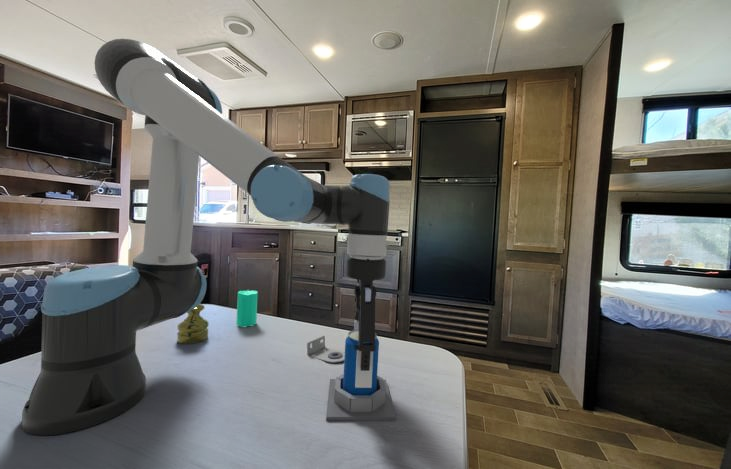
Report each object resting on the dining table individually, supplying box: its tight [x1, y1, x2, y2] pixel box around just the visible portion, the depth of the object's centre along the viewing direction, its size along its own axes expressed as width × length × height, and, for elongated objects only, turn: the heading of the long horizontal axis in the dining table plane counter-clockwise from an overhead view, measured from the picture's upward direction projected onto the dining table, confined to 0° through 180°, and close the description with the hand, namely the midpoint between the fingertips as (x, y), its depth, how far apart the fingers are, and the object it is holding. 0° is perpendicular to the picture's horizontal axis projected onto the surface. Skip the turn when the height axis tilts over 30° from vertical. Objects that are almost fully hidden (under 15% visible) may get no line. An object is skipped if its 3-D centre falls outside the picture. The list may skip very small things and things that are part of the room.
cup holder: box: [325, 373, 397, 421], centre depth 54 cm, size 12×12×3 cm
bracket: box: [306, 335, 345, 364], centre depth 72 cm, size 7×10×4 cm, turn 57°
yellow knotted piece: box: [177, 303, 210, 345], centre depth 77 cm, size 7×7×10 cm
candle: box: [235, 290, 259, 327], centre depth 91 cm, size 6×6×12 cm
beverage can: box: [343, 329, 380, 396], centre depth 54 cm, size 6×6×12 cm
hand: (361, 366), depth 54 cm, fingers open, 13 cm apart
